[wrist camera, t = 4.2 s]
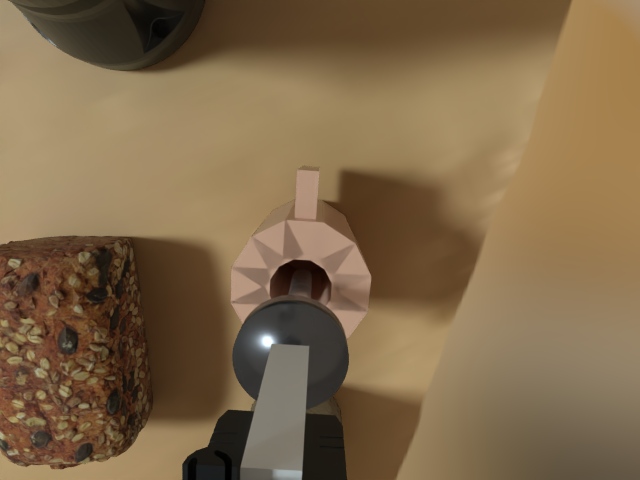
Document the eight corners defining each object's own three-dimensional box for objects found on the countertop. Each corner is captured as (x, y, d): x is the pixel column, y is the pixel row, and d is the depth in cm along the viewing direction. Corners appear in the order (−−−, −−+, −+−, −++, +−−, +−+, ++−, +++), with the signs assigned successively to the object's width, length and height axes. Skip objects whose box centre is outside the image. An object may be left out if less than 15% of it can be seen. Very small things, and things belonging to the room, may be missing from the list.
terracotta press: (256, 290, 39) (229, 349, 28) (261, 161, 37) (233, 166, 25) (350, 296, 39) (363, 357, 28) (361, 168, 37) (381, 176, 25)
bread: (29, 232, 38) (-70, 260, 28) (143, 231, 38) (83, 258, 28) (57, 410, 42) (-22, 488, 32) (161, 409, 42) (113, 487, 32)
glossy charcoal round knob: (265, 308, 30) (231, 407, 18) (268, 241, 29) (233, 301, 17) (334, 313, 30) (344, 414, 18) (340, 246, 29) (353, 308, 17)
